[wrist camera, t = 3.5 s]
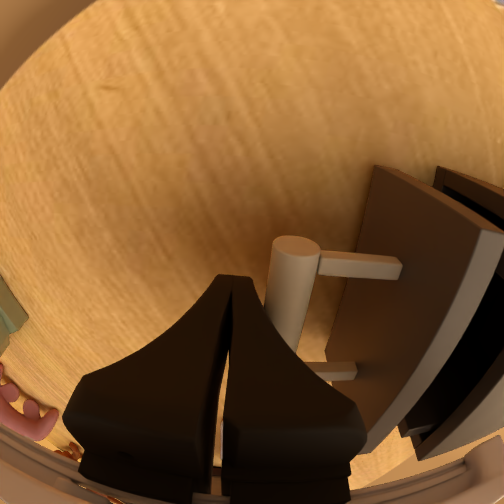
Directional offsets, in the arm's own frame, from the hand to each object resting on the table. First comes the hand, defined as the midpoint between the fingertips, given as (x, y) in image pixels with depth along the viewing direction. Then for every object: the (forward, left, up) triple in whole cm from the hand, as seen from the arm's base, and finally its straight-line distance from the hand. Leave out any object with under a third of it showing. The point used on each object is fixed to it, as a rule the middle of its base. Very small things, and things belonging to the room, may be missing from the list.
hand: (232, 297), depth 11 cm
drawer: (0, -9, -3) cm, 9 cm away
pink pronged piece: (-21, +24, -4) cm, 32 cm away
